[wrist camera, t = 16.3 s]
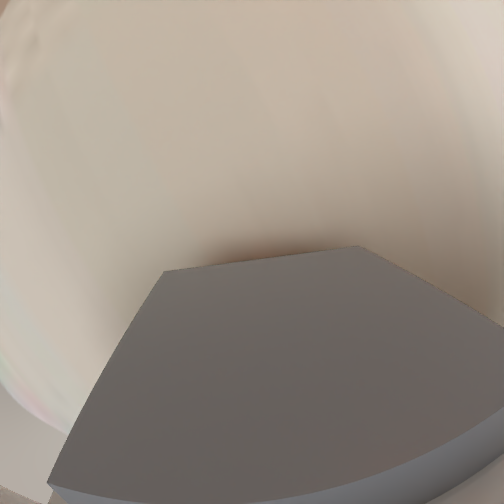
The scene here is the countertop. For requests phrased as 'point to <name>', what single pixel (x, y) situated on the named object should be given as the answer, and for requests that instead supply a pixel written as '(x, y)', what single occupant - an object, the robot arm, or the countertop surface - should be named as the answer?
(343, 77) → the countertop surface
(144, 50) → the countertop surface
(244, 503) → the matte gray box
